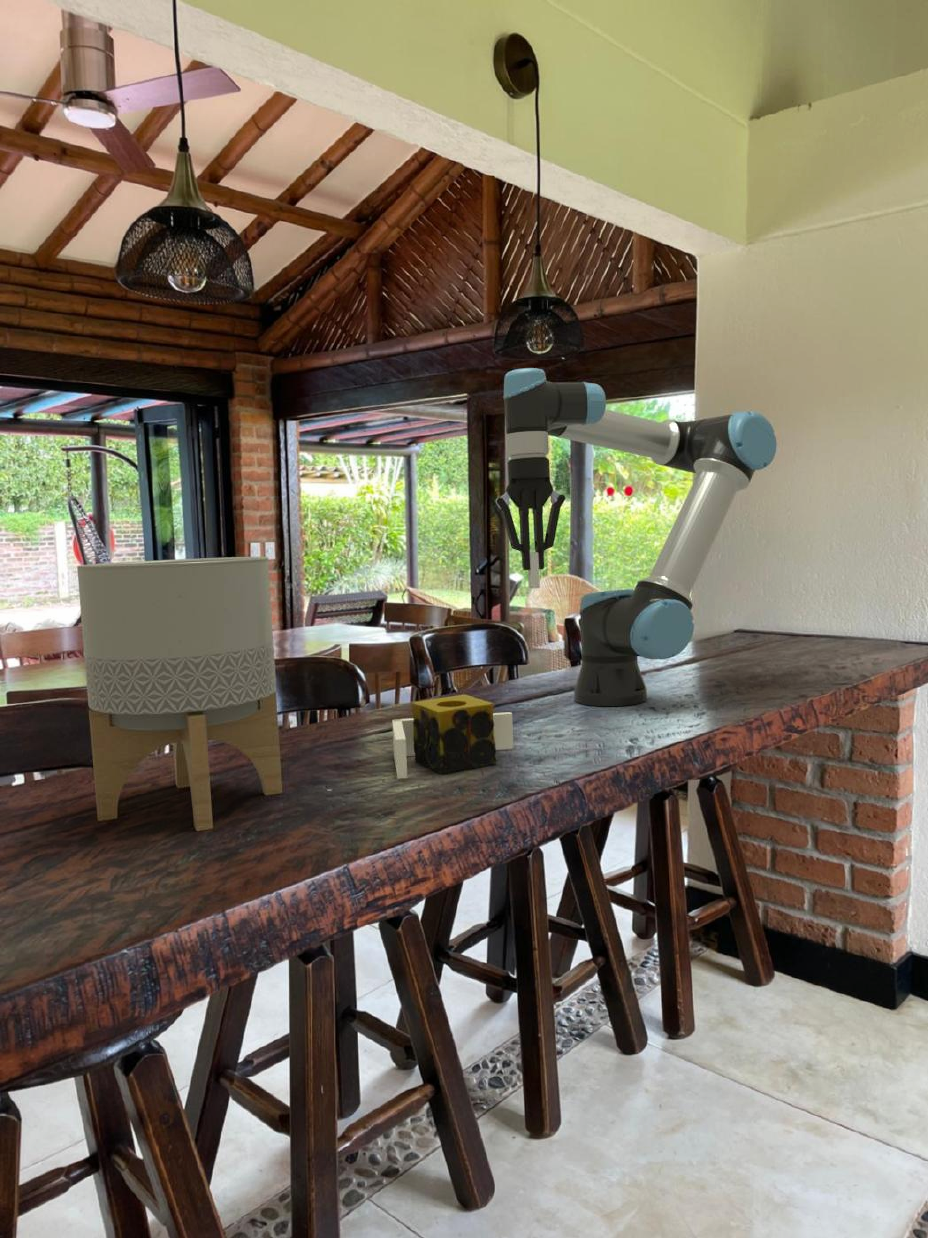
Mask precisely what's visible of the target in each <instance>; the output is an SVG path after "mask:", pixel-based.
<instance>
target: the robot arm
mask: <svg viewBox="0 0 928 1238" xmlns="http://www.w3.org/2000/svg"><path fill="white" fill-rule="evenodd" d="M503 380H504V381H503V401H504V415H505V416H504V417H505V430H506V431H505V432H506V435H505V436H506V453H507V454H506V455H507V457H509V458H510V459H508V461H507V475H508V476H507V478H508V482H507V483H508V484H507V486H506V489H505V493H503V494H502V495H501V496H500V497H497V498H495V500H494V503H495V505H496V507H497V508H498V509H499V511H500V513H501V517H502V519H503V523H504V527H505V529H506V534H507V537H508V540H509V544H510V547H511V549H512V550H515V551H519V552H520V553H521V564H522V566H521V567H522V569H523V571H527V576H528V588H529V589H534V590H535V589H540V588H541V586H540V585H541V584H540V570H544V568H545V556H544V555H545V551H546V550H548V549H550V548H553V547H554V544H555V539H556V534H557V528H558V524H559V519H560V518H559V517H560V512H561V507H562V505H563V504H564V502H565V500H566V495H565V494H560V493H559V492H557V491H556V490H554V486H553V485H552V483H551V473H550V472H551V470H550V468H551V467H550V459H549V458H548V457H547V455H549V453H550V451H549V450H550V447H549V436H551V437H557V438H561V439H564V440H565V439H566V440H569V441H575V442H578V443H583V444H588V445H591V446H597V447H600V448H605V449H610V450H614V451H618V452H624V453H628V454H632V455H637V456H641V457H644V458H645V457H646V458H649V459H650V458H651V460H652V462H653V463H654V464H656V465H658V466H664V467H667V468H670V469H671V468H672V469H676V470H679V471H684V472H686V473H687V472H688V473H692V474H696V477H695V479H694V481H693V483H692V485H691V486H690V489H689V492H688V493H687V496H686V498H685V499H684V501H683V503H682V506H681V508H680V511H679V513H678V515H677V516H676V519H675V521H674V522H673V524H672V526H671V527H672V528H671V529H670V531H669V533H668V536H667V538H666V540H665V542H664V544H663V546H662V548H661V550H660V553H659V555H658V557H657V559H656V561H655V563H654V565H653V568H652V570H651V572H650V574H649V575H648V577H645V578H642V579H639V580H638V582H637V584H636V585H635V587H634V589H631V588H629V589H628V588H627V589H626V588H625V589H614V590H613V589H612V590H606V591H598V592H597V591H596V592H590V593H585V594H584V595H583V596H582V597H581V599H580V602H579V603H580V605H579V613H578V614H579V615H580V617H579V618H580V643H581V644H580V645H581V666H580V670H579V673H578V676H577V679H576V682H575V687H574V690H573V691H574V693H573V694H574V695H573V696H574V697H573V698H574V702H576V703H578V704H582V705H587V706H597V707H621V706H622V707H623V706H631V705H632V706H633V705H638V704H642V703H644V702H646V701H647V700H648V692H647V686H646V684H645V681H644V678H643V676H642V671H641V669H640V666H639V663H638V661H639V660H638V657H640V658H643V659H649V660H667V659H668V660H669V659H671V658H674V657H676V656H678V655H679V654H680V653H682V652H683V651H684V650H685V649H686V648H687V647H688V645H689V643H690V641H691V640H692V637H693V634H694V629H695V625H694V623H693V620H694V616H693V613H692V608H693V606H694V603H693V600H692V598H691V596H690V595H691V591H692V589H693V588H694V585H695V583H696V582H697V579H698V577H699V574H700V572H701V571H702V568H703V566H704V564H705V562H706V559H707V557H708V555H709V553H710V551H711V548H712V546H713V544H714V542H715V540H716V538H717V536H718V533H719V532H720V530H721V527H722V526H723V522H724V520H725V518H726V516H727V515H728V512H729V510H730V507H731V505H732V504H733V500H734V498H735V496H736V495H737V492H739V491H742V490H745V489H747V488H748V486H749V485H750V482H751V480H752V478H753V476H754V474H755V472H756V471H760V470H763V469H764V468H766V467H768V466H769V465H771V463H772V462H773V460H774V458H775V456H776V453H777V445H778V444H777V437H776V435H775V430H774V428H773V425H772V424H771V422H770V421H769V419H768V418H767V417H766V416H764V415H763V414H762V413H760V412H759V411H758V412H757V411H753V410H749V411H748V410H747V411H742V410H741V411H736V412H734V413H731V414H726V415H725V414H724V415H721V416H714V417H709V418H708V417H707V418H704V419H698V420H691V421H690V420H689V421H676V420H673V419H669V418H668V419H664V420H662V421H661V422H660V421H656V420H652V419H647V418H644V417H640V416H636V415H633V414H628V413H624V412H619V411H616V410H615V411H614V410H611V409H607V408H606V407H607V403H606V402H607V401H606V399H607V398H606V393H605V391H604V388H602V386H600V385H599V384H597V383H592V382H591V383H590V382H586V381H582V382H555V381H554V382H553V381H548V380H547V377H546V372H545V371H544V369H541V368H537V367H535V368H534V367H525V368H516V369H513V370H511V371H508V372H507V373H506V374H505V375H504V378H503ZM549 498H550V503H551V506H550V511H549V516H548V521H547V527H546V531H545V532H546V533H545V534H544V520H543V519H544V518H543V517H544V516H543V514H544V507H545V505H546V504H547V502H548V500H549ZM510 500H511V502H512V503H513V504H514V505H515V507H516V508H517V509H518V515H519V534H520V535H519V537H520V540H519V537H518V532H517V529H516V526H515V523H514V520H513V516H512V513H511V509H510V507H509V505H511V504H510V503H511V502H510ZM530 510H532V519H533V520H532V521H533V537H534V538H533V540H534V541H533V542H534V551H531V539H530V537H531V536H530V535H531V534H530V518H529V517H530V516H529V514H530ZM544 535H545V536H544Z"/></svg>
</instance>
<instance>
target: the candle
mask: <svg viewBox="0 0 928 1238" xmlns="http://www.w3.org/2000/svg"><path fill="white" fill-rule="evenodd" d="M411 710H412V711H411V712H412V718H413V719H414V721H413V733H414V737H413V741H414V751H415V756H414V760H415V763H418V764H419V765H421V766H423V767H425V768H427V769H430V770H432V771H434V772H437V773H438V774H441V775H445V774H451V773H456V772H462V771H468V770H471V769H477V768H481V767H489V766H493V765H495V764H497V761H498V760H497V758H496V753H497V750H496V748H495V745H496V744H495V738H494V721H493V713H494V704H493V702H490V701H487V700H484V699H480V698H476V697H474V696H471V695H468V694H464V693H463V694H459V695H453V696H446V697H438V698H432V699H425V700H420V701H413V702H411Z"/></svg>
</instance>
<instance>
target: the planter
mask: <svg viewBox="0 0 928 1238" xmlns="http://www.w3.org/2000/svg"><path fill="white" fill-rule="evenodd" d="M76 568H77V581H78V592H79V593H78V595H79V605H80V616H81V618H80V619H81V627H82V629H81V630H82V642H83V655H84V666H85V678H86V691H87V693H86V694H87V702H88V707H89V708H90V709H89V710H88V717H89V729H90V741H91V743H90V744H91V753H92V765H93V767H92V768H93V778H94V789H95V790H94V791H95V801H96V814H97V821H98V822H101V821H103V822H104V821H109V820H115V819H118V804H119V800H120V797H121V794H122V790H123V787H124V786H125V783H126V781H127V779H128V778H129V776H130V775H131V773H132V772H133V771H134V769H135V768H136V767H137V766H138V765H139V764H140V763H141V762H142V761H144V759H146V758H147V757H148V756H150V755H151V754H152V753H154V752H157V750H158V751H159V750H160V749H161V748H164V747H167V746H169V745H172V749H173V761H174V762H173V763H174V776H175V778H174V779H175V786H176V788H177V789H184V788H189V787H190V794H191V795H190V796H191V798H190V799H191V804H192V805H191V806H192V815H193V826H194V829H195V830H196V832H201V831H206V830H212V829H214V823H213V822H214V821H213V820H214V819H213V811H212V810H213V809H212V795H211V794H212V793H211V792H212V791H211V781H210V780H211V779H210V767H209V766H210V764H209V751H208V750H209V749H208V741H217V742H220V743H223V744H226V745H228V746H231V747H233V748H235V749H237V750H238V751H240V752H241V753H242V754H244V755H245V757H247V758H248V759H249V761H251V763H252V764H253V766H254V768H255V769H256V772H257V774H258V776H259V779H260V783H261V787H262V793H263V794H264V796H273V795H278V794H279V795H280V794H282V793H283V784H282V783H283V782H282V771H281V770H282V769H281V768H282V767H281V752H280V751H281V749H280V738H279V737H280V735H279V721H278V719H279V718H278V703H277V700H278V699H277V681H276V680H277V679H276V664H275V648H274V647H275V646H274V634H273V633H274V631H273V616H272V615H273V614H272V602H271V601H272V599H271V584H270V568H269V557H268V556H236V557H235V556H231V557H228V556H227V557H205V558H202V557H201V558H181V559H178V558H177V559H160V560H157V559H156V560H142V561H140V560H137V561H124V562H122V561H120V562H106V563H104V562H103V563H91V564H80V565H77V566H76Z"/></svg>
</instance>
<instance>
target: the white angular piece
mask: <svg viewBox="0 0 928 1238" xmlns="http://www.w3.org/2000/svg"><path fill="white" fill-rule="evenodd" d="M391 721H392V722H391V723H392V724H391V725H392V741H393V743H392V744H393V757H394V763H395V764H394V765H395V772H396V778H397V780H399V779H408V765H407V764H408V763H407V757H415V751H414V741H413V737H414V733H413V721H414V719H413V717H412V718H398V719H397V718H396V719H394V718H393V719H391ZM493 721H494V738H495V744H496V745H495V748H496V751H502V750H514V733H513V732H514V731H513V730H514V729H513V727H514V726H513V713H512V712H511V711H509V712H507V711H506V712H493Z"/></svg>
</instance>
